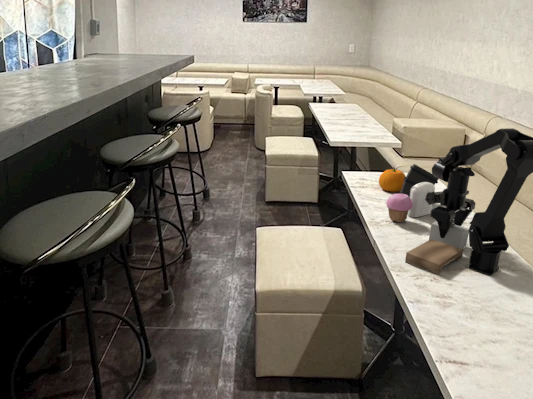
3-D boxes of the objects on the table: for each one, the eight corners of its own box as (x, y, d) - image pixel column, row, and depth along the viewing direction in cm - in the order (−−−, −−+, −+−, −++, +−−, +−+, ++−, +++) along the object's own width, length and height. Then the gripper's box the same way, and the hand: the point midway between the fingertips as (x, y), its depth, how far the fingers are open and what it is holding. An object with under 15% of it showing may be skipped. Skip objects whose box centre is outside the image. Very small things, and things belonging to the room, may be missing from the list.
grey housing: (466, 246, 147) (469, 227, 145) (458, 251, 144) (462, 231, 141) (436, 236, 154) (439, 218, 152) (428, 241, 150) (431, 221, 148)
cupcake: (413, 220, 167) (417, 193, 164) (405, 227, 160) (409, 199, 157) (389, 214, 172) (392, 188, 168) (380, 221, 165) (383, 194, 162)
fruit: (376, 191, 197) (379, 169, 194) (379, 184, 208) (381, 162, 204) (405, 195, 194) (408, 172, 190) (406, 187, 204) (409, 165, 201)
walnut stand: (461, 258, 138) (463, 249, 137) (437, 274, 128) (439, 264, 127) (430, 247, 145) (431, 238, 144) (405, 262, 135) (406, 252, 134)
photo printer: (423, 210, 177) (428, 179, 173) (432, 214, 174) (437, 182, 170) (404, 215, 172) (409, 182, 168) (414, 219, 168) (419, 186, 164)
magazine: (391, 194, 189) (412, 163, 184) (420, 209, 189) (441, 179, 184) (392, 197, 186) (414, 165, 180) (421, 213, 186) (443, 181, 181)
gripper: (446, 175, 154) (438, 219, 159) (417, 186, 142) (410, 233, 147) (479, 183, 147) (471, 229, 152) (453, 195, 134) (444, 245, 139)
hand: (449, 234), depth 147 cm, fingers open, 9 cm apart
